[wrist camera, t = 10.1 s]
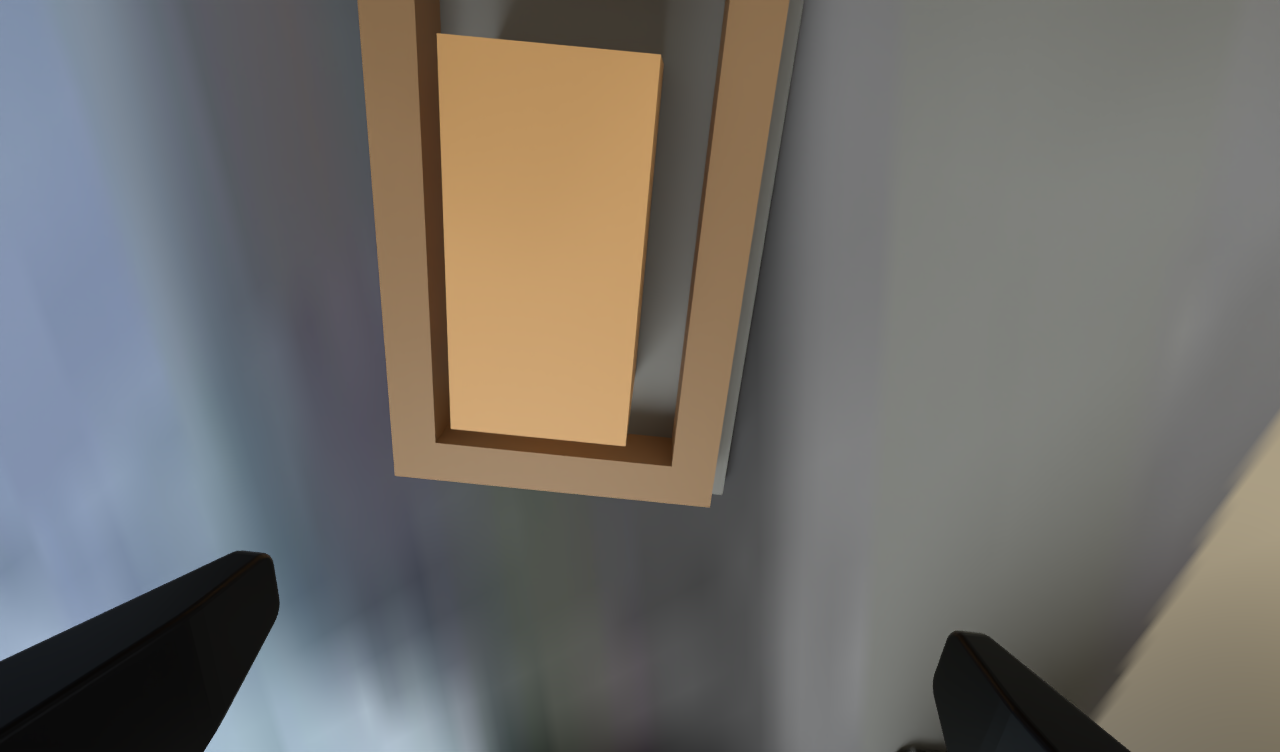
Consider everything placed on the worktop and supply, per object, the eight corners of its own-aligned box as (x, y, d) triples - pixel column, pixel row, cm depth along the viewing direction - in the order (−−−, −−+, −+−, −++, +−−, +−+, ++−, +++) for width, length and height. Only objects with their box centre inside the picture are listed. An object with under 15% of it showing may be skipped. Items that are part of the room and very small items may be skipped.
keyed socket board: (720, 484, 20) (726, 526, 18) (406, 452, 20) (377, 491, 18) (819, -121, 14) (844, -158, 12) (364, -163, 14) (312, -206, 12)
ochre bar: (494, 48, 15) (436, 33, 11) (663, 64, 15) (660, 54, 11) (495, 362, 18) (450, 429, 15) (635, 376, 18) (625, 446, 15)
